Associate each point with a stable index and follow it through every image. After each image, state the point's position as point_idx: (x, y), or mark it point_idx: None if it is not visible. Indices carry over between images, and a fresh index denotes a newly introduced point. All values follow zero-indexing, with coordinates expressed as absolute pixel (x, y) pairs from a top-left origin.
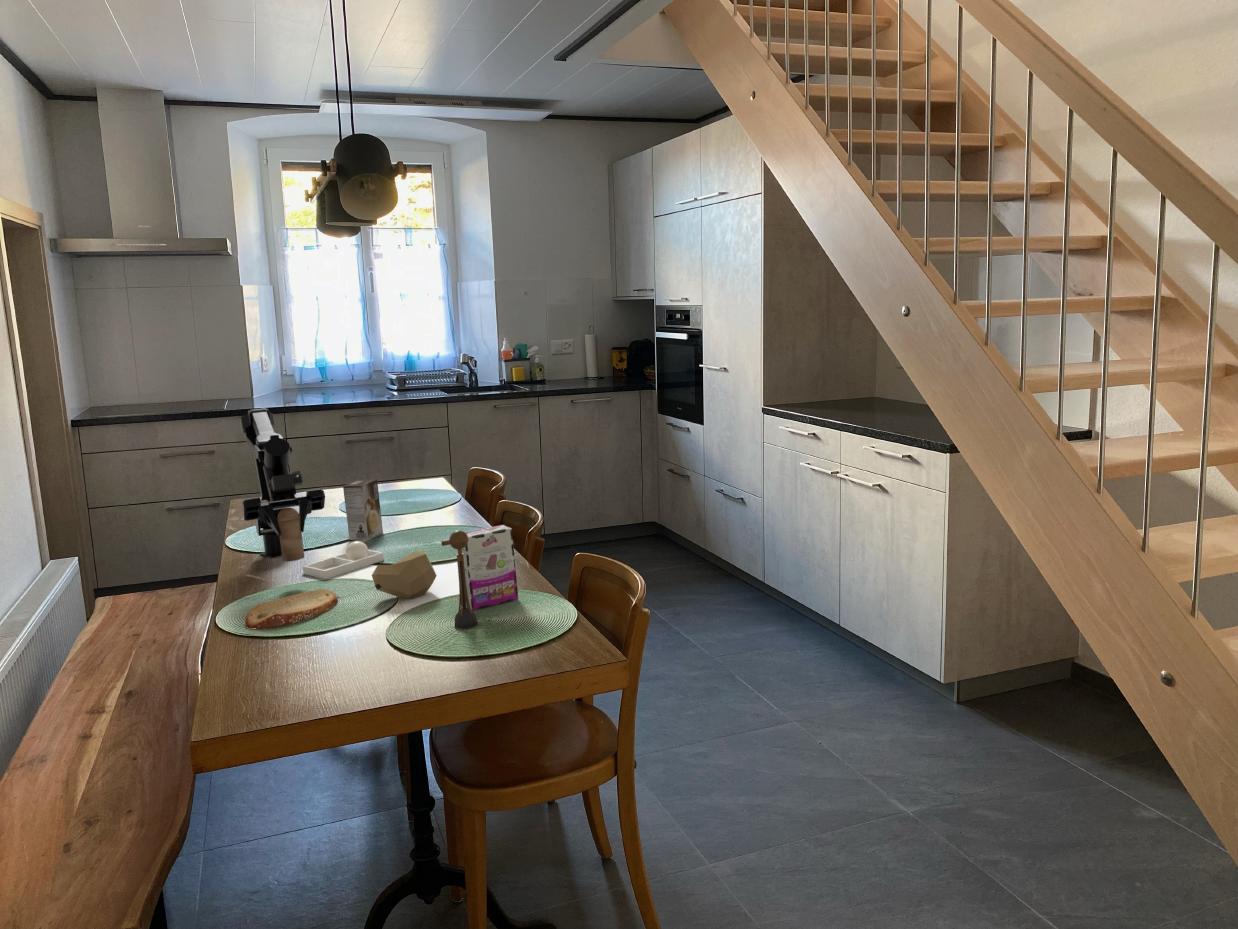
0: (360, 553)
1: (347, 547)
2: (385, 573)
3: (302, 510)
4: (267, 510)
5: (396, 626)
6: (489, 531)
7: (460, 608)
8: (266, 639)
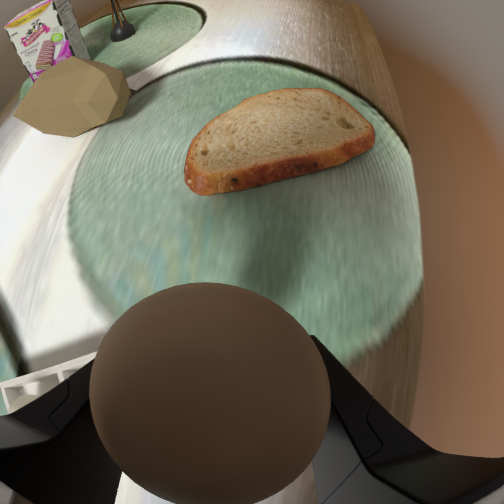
0: (31, 394)
1: None
2: (112, 68)
3: (44, 421)
4: (453, 463)
5: (174, 45)
6: (35, 5)
7: (120, 23)
8: (335, 76)
